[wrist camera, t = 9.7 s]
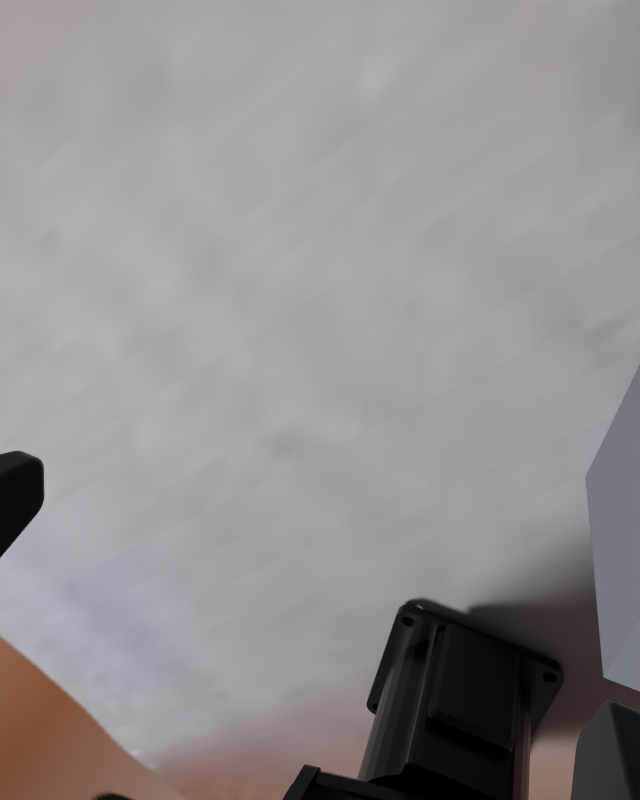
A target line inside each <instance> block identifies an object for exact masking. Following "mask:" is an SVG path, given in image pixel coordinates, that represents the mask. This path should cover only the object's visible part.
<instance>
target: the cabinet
mask: <svg viewBox="0 0 640 800" xmlns="http://www.w3.org/2000/svg"><path fill="white" fill-rule="evenodd" d="M586 486H587V498H588V509H589V520H590V532H591V543H592V554H593V566H594V577H595V588H596V600H597V611H598V623H599V634H600V645H601V657H602V668H603V678H606V679H609V680H611V681H614V682H616V683H619V684H622V685H624V686H627V687H629V688H632V689H634V690H637V691H640V366H639V368H638V370H637V372H636V374H635V377H634V379H633V381H632V383H631V385H630V387H629V389H628V391H627V393H626V395H625V397H624V399H623V401H622V404H621V406H620V408H619V410H618V412H617V414H616V416H615V418H614V420H613V422H612V424H611V426H610V428H609V431H608V433H607V435H606V437H605V439H604V441H603V443H602V445H601V447H600V449H599V451H598V453H597V455H596V458H595V460H594V462H593V464H592V466H591V468H590V470H589V472H588V474H587V476H586Z"/></svg>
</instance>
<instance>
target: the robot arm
mask: <svg viewBox="0 0 640 800" xmlns="http://www.w3.org/2000/svg"><path fill="white" fill-rule="evenodd" d="M43 501H44V466H43V463H42V461H41V460H40V459H39V458H37V457H34V456H32V455H30V454H27V453H25V452H22V451H13V452H8V453H4V454H0V558H1V556H2V555H3V554H4V553H5V552H6V551H7V549H8V548H9V547H10V546H11V545H12V543H13V542H14V541H15V540H16V539H17V537H18V536H19V535H20V534H21V533H22V531H23V530H24V529H25V528H26V527H27V525H28V524H29V523H30V522H31V521H32V519H33V518H34V517H35V516H36V515H37V513H38V512H39V510H40V509H41V507H42V504H43ZM406 617H410V618H412V619H408V618H406ZM546 672H550V673H553V674H548V673H546ZM563 682H564V669H563V666H562V665H561V664H560V663H558V662H557V661H555V660H552V659H550V658H547V657H545V656H542V655H539V654H537V653H534V652H532V651H529V650H526V649H524V648H521V647H519V646H516V645H514V644H511V643H508V642H506V641H503V640H501V639H498V638H495V637H493V636H490V635H488V634H485V633H483V632H480V631H477V630H475V629H472V628H470V627H467V626H464V625H462V624H459V623H457V622H454V621H452V620H449V619H446V618H444V617H441V616H439V615H436V614H433V613H431V612H428V611H426V610H423V609H421V608H418V607H415V606H412V605H403V606H401V607H400V608H399V609H398V612H397V615H396V618H395V621H394V624H393V627H392V629H391V632H390V635H389V638H388V641H387V644H386V647H385V650H384V653H383V656H382V659H381V662H380V665H379V668H378V671H377V674H376V677H375V680H374V683H373V686H372V689H371V692H370V695H369V698H368V701H367V708H368V709H369V710H370V711H371V712H372V713H373V714H375V715H376V716H375V719H374V723H373V726H372V730H371V733H370V737H369V740H368V744H367V747H366V751H365V754H364V758H363V761H362V764H361V768H360V771H359V775H358V778H357V779H354V778H350V777H345V776H341V775H337V774H332V773H328V772H324V771H321V769H320V768H319V767H315V766H311V765H306V764H305V765H304V766H303V768H302V769H301V771H300V773H299V774H298V776H297V778H296V779H295V781H294V783H293V784H292V785H291V786H290V788H289V790H288V791H287V793H286V795H285V796H284V798H283V800H528V795H529V766H530V739H531V738H532V736H533V734H534V733H535V731H536V729H537V727H538V726H539V724H540V722H541V720H542V719H543V717H544V715H545V713H546V712H547V710H548V708H549V707H550V705H551V703H552V701H553V700H554V698H555V696H556V694H557V693H558V691H559V689H560V688H561V686H562V684H563ZM571 800H640V712H638V711H637V710H635V709H633V708H631V707H628V706H626V705H623V704H621V703H619V702H616V701H614V700H607V701H605V702H604V703H603V704H602V705H601V706H600V708H599V709H598V710H597V712H596V713H595V714H594V716H593V717H592V719H591V720H590V721H589V723H588V724H587V725H586V727H585V728H584V730H583V731H582V733H581V735H580V737H579V739H578V743H577V747H576V755H575V764H574V774H573V783H572V793H571Z"/></svg>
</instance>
